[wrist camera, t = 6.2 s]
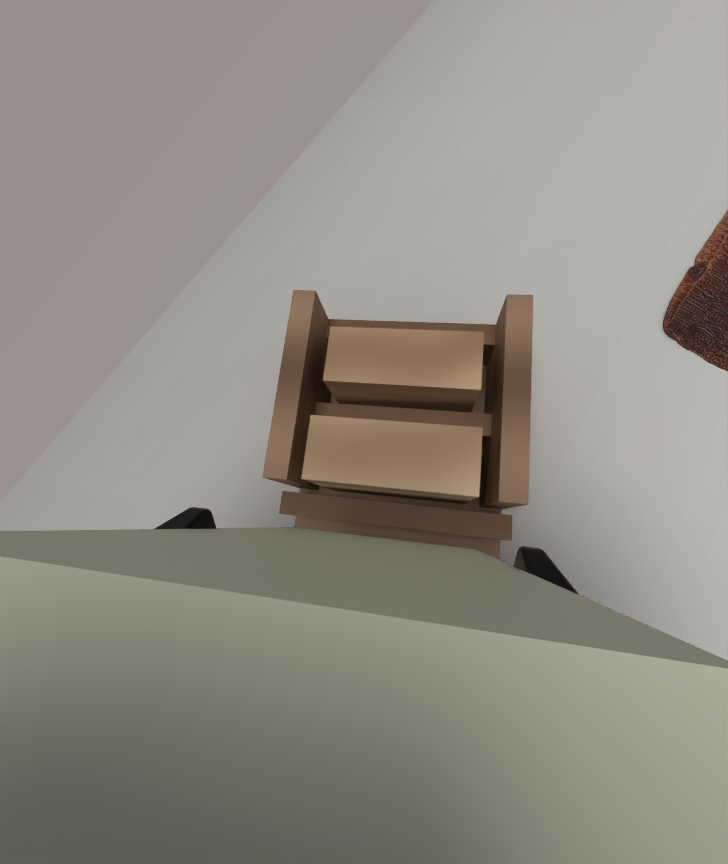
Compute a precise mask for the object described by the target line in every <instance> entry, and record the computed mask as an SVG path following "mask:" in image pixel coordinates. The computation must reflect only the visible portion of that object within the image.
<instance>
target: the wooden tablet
mask: <svg viewBox="0 0 728 864" xmlns="http://www.w3.org/2000/svg"><path fill="white" fill-rule="evenodd" d="M664 328H665V331H666V332H667V333H668V334H669V335H670V336H671V337H673V338H674V339H676V340H677V341H678V342H679V343H680V344H681V345H683V346H684V347H685V348H687V349H689V350H691V351H693V352H695V353H697V354H698V355H699V356H701V357H702V358H703V359H704V360H705V361H707V362H708V363H711V364H713V365H715V366H717V367H719V368H721V369H724V370H726V371H728V211H727V213H726V214H725V216H724V217H723V219H722V220H721V222H720V223H719V224H718V226H717V227H716V229H715V230H714V232H713V234H712V235H711V237H710V238H709V239H708V241H707V242H706V244H705V245H704V247H703V248H702V250H701V251H700V253H699V254H698V256H697V257H696V261H695V266H693V267H691V268H689V270H688V272H687V274H686V276H685V278H684V279H683V281H682V282H681V284H680V286H679V287H678V289H677V291H676V292H675V294H674V296H673V298H672V300H671V302H670V305H669V307H668V310H667V313H666V316H665V319H664Z"/></svg>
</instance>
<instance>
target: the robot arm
mask: <svg viewBox="0 0 728 864" xmlns="http://www.w3.org/2000/svg"><path fill="white" fill-rule="evenodd" d="M155 529H216V526H215V522H214V519H213V516H212V513H211V511H210V510H209V509H205V508H197V507H192V508H189V509H187V510H185V511H184V512H182V513H180V514H179V515H177V516H175V517H174V518H172V519H170V520H168V521H167V522H165V523H163V524H162V525H160V526H158V527H157V528H155ZM514 567H516V568H518V569H520V570H523V571H525V572H527V573H530V574H532V575H535V576H537V577H539V578H542V579H544V580H546V581H548V582H551V583H553V584H555V585H557V586H560V587H562V588H564V589H566V590H569V591H571V592H573V593H575V594H578V593H577V591H576V590H575V589H574V588H573V587H572V585H571V584H570V583H569V582H568V580H567V579H566V578H565V577H564V575H563V574H562V573H561V572H560V570H559V569H558V568H557V567H556V565H555V564H554V563H553V562H552V560H551V559H550V558H549V557H548V555H547V554H546V553H545V552H544V551H543V550H542V549H539V548H532V547H524V546H523V547H520V548H519V550H518V552H517V556H516V559H515V563H514ZM578 595H579V594H578Z"/></svg>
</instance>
